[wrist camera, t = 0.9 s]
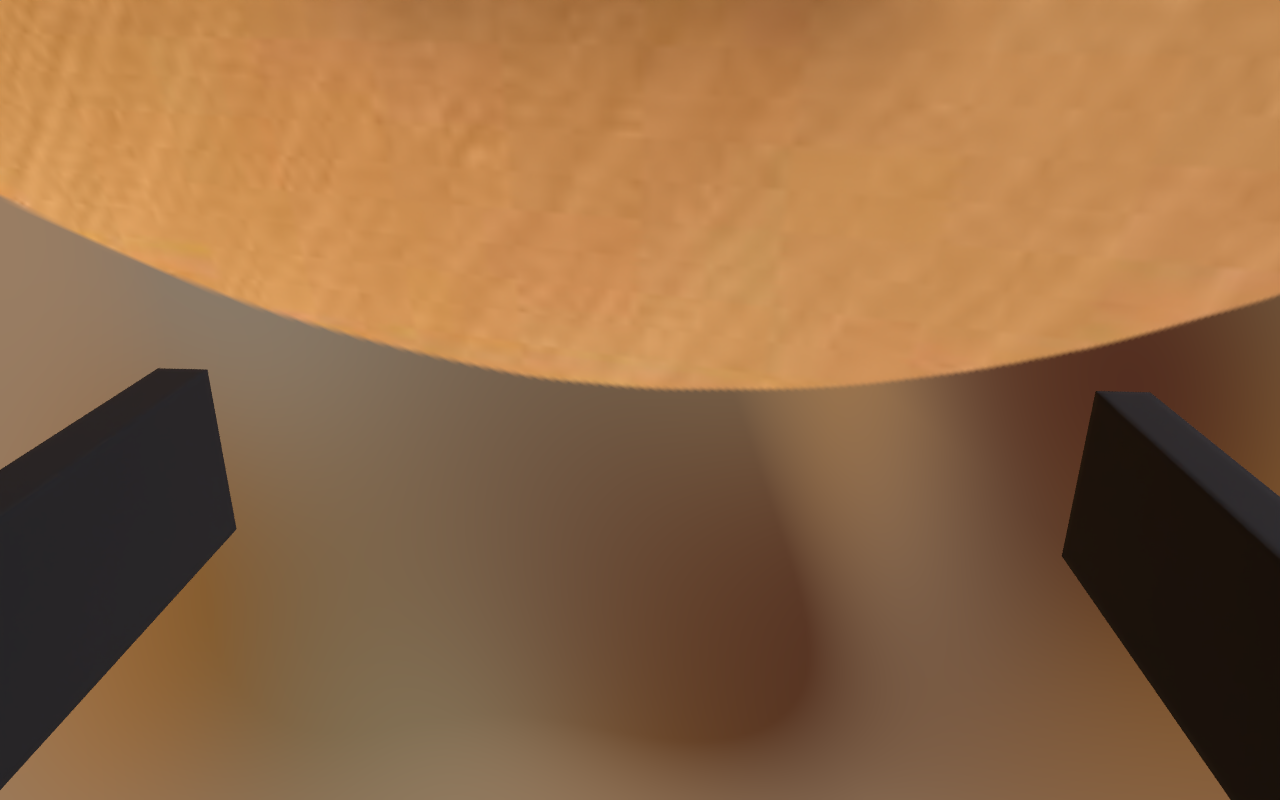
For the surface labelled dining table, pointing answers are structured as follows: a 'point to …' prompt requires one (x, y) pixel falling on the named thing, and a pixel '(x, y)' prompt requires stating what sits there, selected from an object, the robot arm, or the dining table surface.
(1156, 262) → the dining table surface
